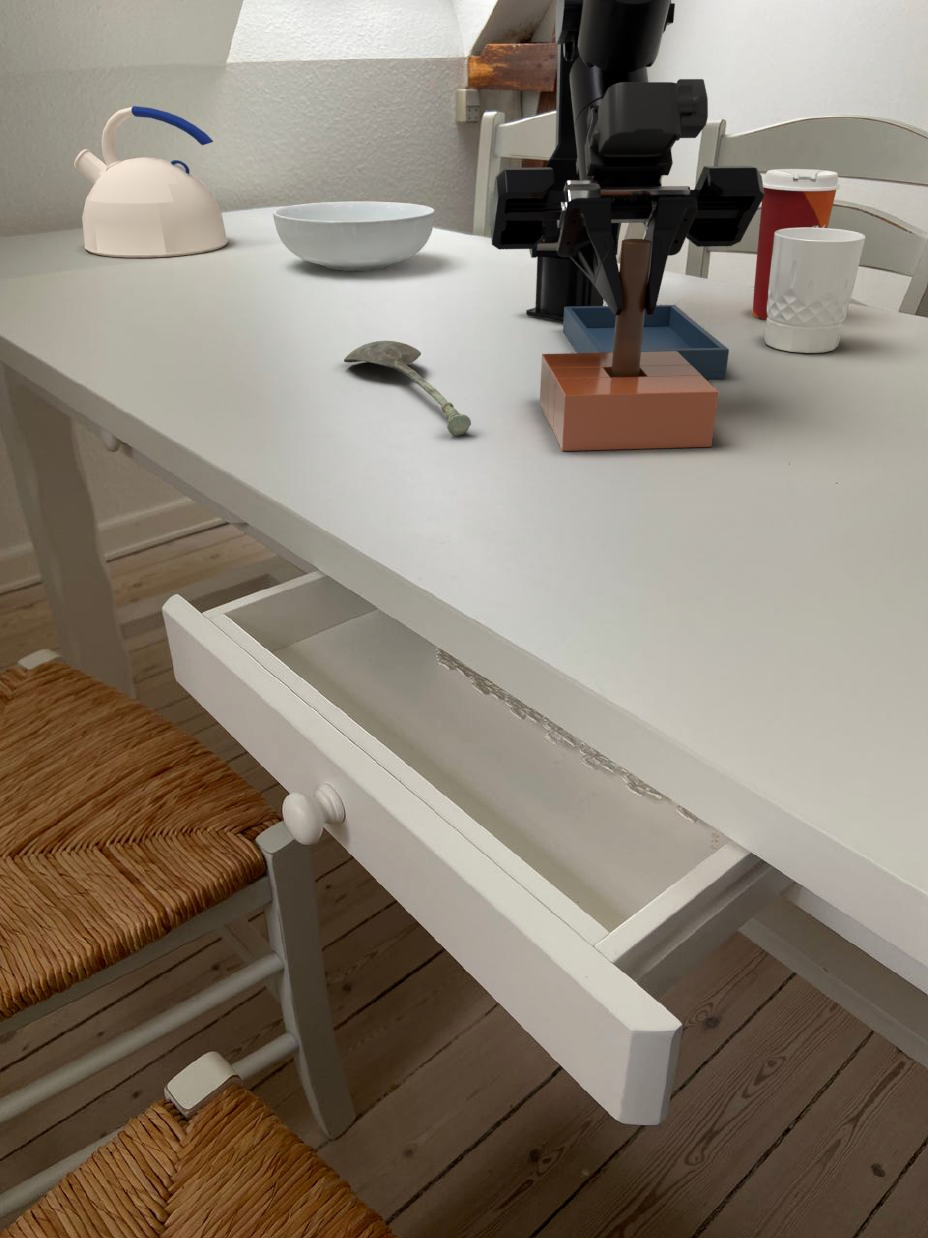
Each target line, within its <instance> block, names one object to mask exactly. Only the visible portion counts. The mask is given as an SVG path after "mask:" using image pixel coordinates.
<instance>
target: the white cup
mask: <svg viewBox="0 0 928 1238" xmlns="http://www.w3.org/2000/svg"><path fill="white" fill-rule="evenodd" d="M865 242H866V235H865V234H864V233H861V232H857V231H853V230H847V229H840V228H830V227H828V228H811V227H803V228H786V229H780V230H777V231H775V233H774V242H773V252H772V261H771V270H770V279H769V290H768V301H767V315H768V317H767V320H765V321H766V322H765V323H766V324H765V330H764V338H763V339H764V343H765V345H767V346H769V347H770V348H774V349H775V350H780V351H785V352H791V353H799V354H800V353H801V354H822V353H828V352H832V351H835V350H836V349H837V348H838V347H839V344H840V340H841V335H842V332H843V331H842V330H843V326H844V321H845V319H846V317H847V315H848V310H849V306H850V302H851V299H852V295H853V292H854V288H855V283H856V279H857V275H858V272H859V271H858V270H859V267H860V262H861V259H862V254H863V250H864V246H865Z"/></svg>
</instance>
